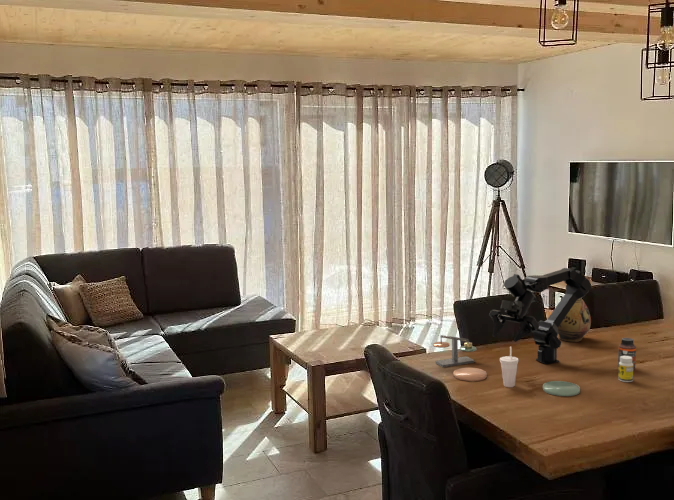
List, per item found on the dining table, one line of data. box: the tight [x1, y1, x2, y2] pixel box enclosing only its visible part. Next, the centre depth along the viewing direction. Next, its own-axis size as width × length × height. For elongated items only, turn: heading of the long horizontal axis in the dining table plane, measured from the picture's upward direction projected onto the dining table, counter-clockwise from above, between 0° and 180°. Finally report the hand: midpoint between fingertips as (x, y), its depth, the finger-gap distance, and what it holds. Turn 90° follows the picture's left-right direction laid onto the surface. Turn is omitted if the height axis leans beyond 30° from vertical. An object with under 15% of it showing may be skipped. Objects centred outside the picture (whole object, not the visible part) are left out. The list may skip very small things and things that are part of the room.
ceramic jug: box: [558, 269, 592, 343], centre depth 286 cm, size 17×15×30 cm
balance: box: [432, 334, 477, 368], centre depth 259 cm, size 18×6×12 cm, turn 110°
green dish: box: [542, 380, 581, 397], centre depth 225 cm, size 12×12×1 cm
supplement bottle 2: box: [617, 356, 634, 383], centre depth 232 cm, size 5×5×8 cm
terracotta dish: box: [453, 367, 488, 382], centre depth 243 cm, size 12×12×1 cm
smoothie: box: [499, 346, 519, 388], centre depth 231 cm, size 6×6×14 cm
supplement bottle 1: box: [617, 337, 637, 371], centre depth 245 cm, size 6×6×11 cm
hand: (503, 338), depth 241 cm, fingers open, 9 cm apart
